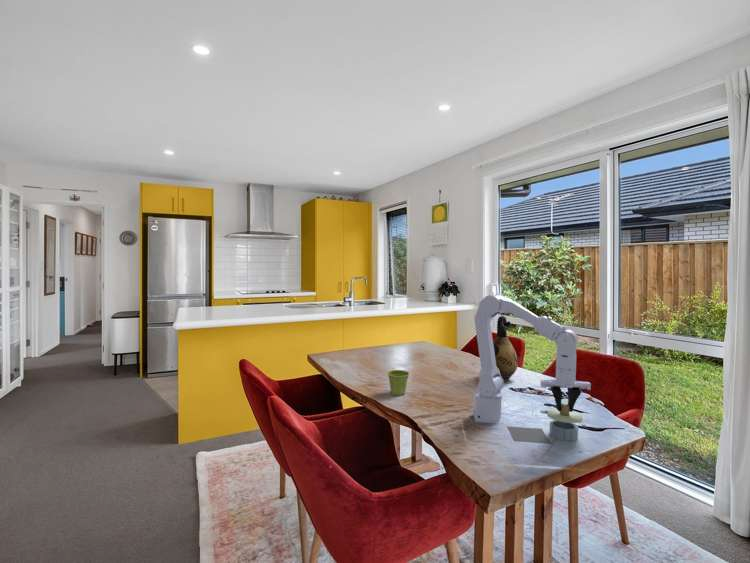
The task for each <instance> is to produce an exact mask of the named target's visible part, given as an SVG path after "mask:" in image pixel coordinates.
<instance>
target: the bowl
mask: <svg viewBox="0 0 750 563" xmlns="http://www.w3.org/2000/svg"><path fill="white" fill-rule="evenodd" d="M548 434H549V435H550V436H551V437H552V438H554V439H556V440H560V441H564V442H574V441H575V442H576V441H577V440H578V439H579V426H578V425H577V423H565V422H560V421H556V420H553V419H552V420H551V421H550V422H549V432H548Z"/></svg>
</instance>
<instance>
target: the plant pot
mask: <svg viewBox="0 0 750 563" xmlns="http://www.w3.org/2000/svg"><path fill="white" fill-rule="evenodd" d="M410 373H411V372H409V371H406V370H402V369H394V370H393V369H392V370H390V371H387V373H386V374H387V376H388V380H389V388H390V394H392V395H394V396H402V395H405V394H406V391H407V384H408V380H409V376H410V375H411V374H410Z"/></svg>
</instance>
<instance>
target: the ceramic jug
mask: <svg viewBox="0 0 750 563" xmlns="http://www.w3.org/2000/svg"><path fill="white" fill-rule="evenodd" d="M511 328H512V323H511V322H510V320H509V321H508V320H507V318H506V316H505V315H499V316H498V318H497V323H496V337H495V339H494V340H493V345H494V352H495V359H496V366H497V368H498V369H499V371H500V375H501V377H502V378H503V381H504V382H508V381H510V379H511V377H512V376H514V375H515V373H516V371H517V369H518V365H519V364H518V363H519V361H518V360H519V359H518V356H517V353H516V349H515V348H514V346H513V344H512V342H511V341H510V339H509V337H508V336H507V334H508V333H507V330H509V329H511Z"/></svg>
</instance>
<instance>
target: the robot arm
mask: <svg viewBox="0 0 750 563" xmlns="http://www.w3.org/2000/svg"><path fill="white" fill-rule="evenodd" d="M498 314H512V315H513V316H515V317H517V318H519V319H522V320H523V321H525V322H527V323H529V324H530V325H532V327H533V328H534V331H535V332H536V333H538V334H540V335H541V336H542V337H545V338H546V339H548V340H549V341H551V342H554V344H555V345H556V352H555V353H556V358H555V359H556V360H555V378H554V379H553V378H552V379H540V387H541V388H544V389H545V388H550V390H551V393H552V395H553V398H554V401H555V407H556V409H557V410H558V411H561V403H562V399H563V393H564V392H563V391H562V389H567V397H568V398H567V399H568V400H567V404H569V405H570V412H572V411H573V412H574V408H575V404H576V402H577V400H578V398H579V397H580V396H581V395H582V391H581V389H582V390H587V391H588V390H589V391H591V390H592V389H591V388H592V387H591V386H592V383H590V382H589V381H582V380H581V381H580V380H577V379H576V376H577V375H576V374H577V343H578V342H579V336H578V333H577V332H575V331H574V330H573V329H572V328H567V326H565V325H564V324H563V325H561V324H560V323H558V322H556V321H554V320H553V317H552V316H550V315H549V316H545V315H542V316H538V315H536V314H535V313H534V312H532V311H530V310H528V309H527V308H525V307H524V306H522V305H521V304H519V303H518V302H517V301H514V300H513V299H511V298H510V297H506V296H504V295H503V294H501V293H500V294H499V293H496V294H493V295H492V294H491V295H486V296H484V297H483V298H482V299H481V300H480V301H479V302H478V308H477V311H476V313H475V316H474V325H475V332H476V333H475V334H476V340H477V347H478V355H479V363H480V367H481V368H480V372H479V376H478V377H479V380H478V383H477V389H478V391H479V393H475V394H473V405H472V406H473V410H472V415H473V418H474V421H475V423H486V424H487V423H488V424H502V425H503V424H504V420H503V419H502V400H503V399H502V398H503V397H502V392H501V390H502V389H503V388H504V386H505V383H504V382H505V381H503V378H502V377H501V375H500V371H499V369H498V368H497V366H496V359H495V352H494V345H493V341H494V340H493V339H494V338H493V332H492V326H491V321H492V320H493V319H494V318H495V317H496V316H497V315H498Z"/></svg>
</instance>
